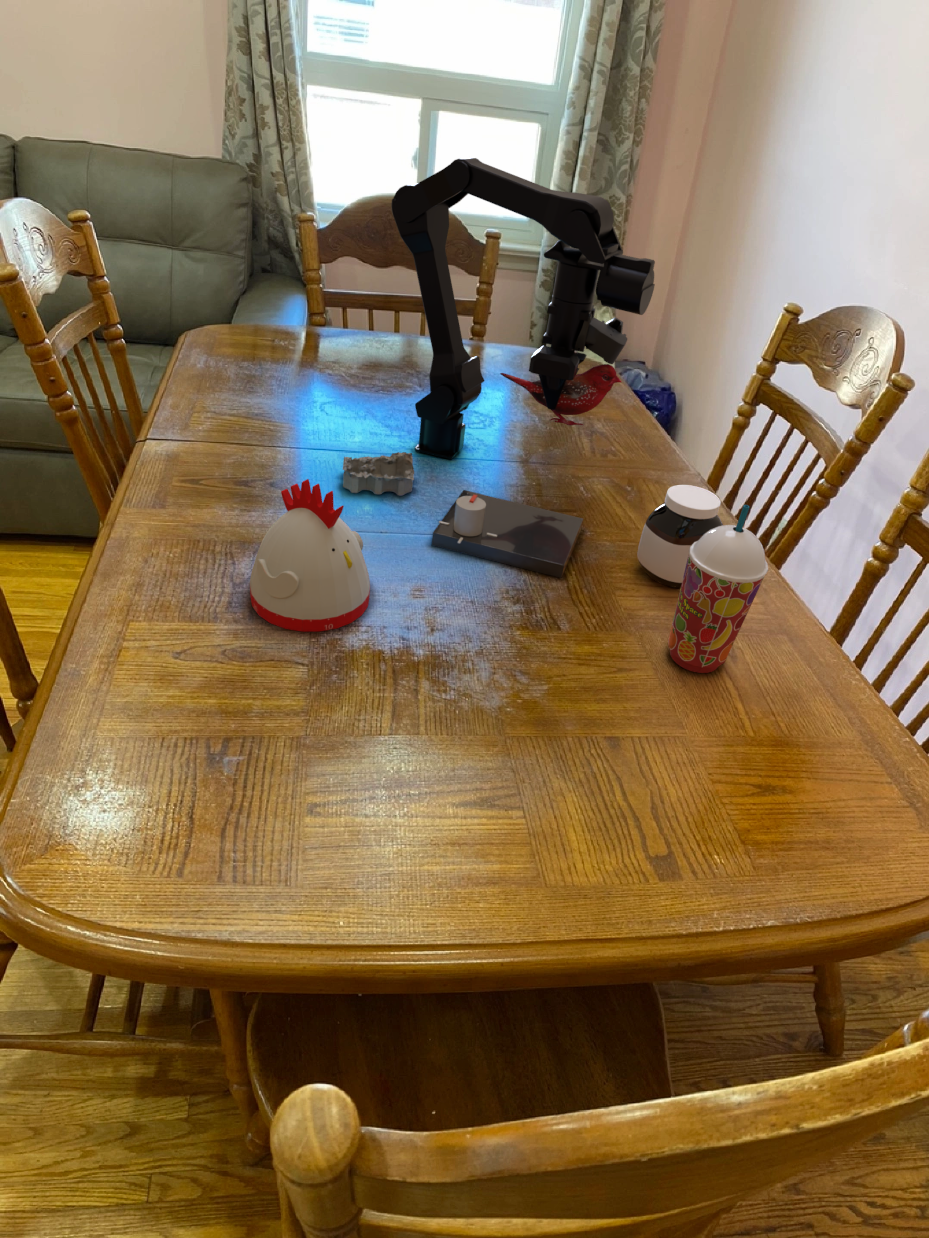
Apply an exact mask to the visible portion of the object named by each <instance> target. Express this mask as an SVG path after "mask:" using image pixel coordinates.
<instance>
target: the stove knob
mask: <svg viewBox="0 0 929 1238" xmlns="http://www.w3.org/2000/svg"><path fill="white" fill-rule="evenodd" d="M455 501H456V507H455V515H454V524H453V529H454V531H455V532H456V533H458V534H460V535H463V536H477V535H480V534H481V533H482V531H483V524H484V517H485V510H486V503H485V501H484V500H482V499H480V498H478V497H477V495H473V496H463V497H460V498H458V497H457V498H456V500H455Z"/></svg>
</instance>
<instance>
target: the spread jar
mask: <svg viewBox="0 0 929 1238" xmlns="http://www.w3.org/2000/svg"><path fill="white" fill-rule="evenodd" d="M721 505H722V502H721V499H720V498H719V497H718V495H716V494H715V493H714V492H712V491H710V490H708V489H706V488H703V487H700V486H696V485H691V484H676V485H672V486H670V487H669V488H668V489H667V491H666V494H665V498H664V502H662V503H661V504H659V505H658V506H657V507H656V508H655V509H654V510H653V511H652V512H651V513H650V514H649V515H648V517H647V518H646V520H645V522H644V525H643V528H642V532H641V535H640V539H639V542H638V547H637V552H636V553H637V554H636V555H637V557H636V558H637V561H638V563H639V566H640V567H641V568H642V570H643V571H644V572H645V574H647V575H648V576H649V578H651V580H653V581H655V582H656V583H658V584H661V585H663V586H666V587H671V588H678V589H681V585H682V580H683V576H684V572H685V568H686V563H687V559H688V555H689V549H690V547H691V545H692V544H693V543H694V542H696V541H698V540H699V539H700V538H701V537H702V536H703V535H704V534H705V533H706V532H708V531H709V530H711V529H713V528H716V527H718V526H723V525H724V524H723V522H722V520H721V518H720V517H719V515H718V514H719V510H720V507H721Z"/></svg>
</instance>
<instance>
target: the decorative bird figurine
mask: <svg viewBox="0 0 929 1238" xmlns="http://www.w3.org/2000/svg"><path fill="white" fill-rule="evenodd" d="M499 374H500V375H501V376H502V377H503V378H506V379H507V380H509V381H511V382H513V383H515V384H516V385H518V386H520V387H522V388H524V389H525V390H526V391H527V392H528V393H529V394H530V395H531V397H533V399H534V400H535V402H537V403H538V404H540V405H542V406H543V407H545V408H547V404H546V400H545V396H544V392H543V388H542V385H541V381H540V379H538V380H534V381H531V380H527V379H524V378H520V377H518V376H515V375H511V374H508V373H505V372H500V373H499ZM617 383H622V380H621V379H620V377H618V375H617V371H616V369H615V367H614V366H613V365H612V364H609V363H604V364H599V365H595V366H592V367H591V368H589V369H587V370H586V371H584V372H581V373H577V374H576V375H575V377H574V379H573V380H566V382H565V385H564V388H563V390H562V393H561V396H560V398H559V401H558V403H557V406H556V409H555V410H550V411H551V412H552V413H553V414H554V415H555V416H556V417H552V418H550V419H549V421H554V423H557V424H564V425H566V426H584V424H583V423H580V422H575V421H573V420H569V419H567V418H565V417H564V416H577V415H578V416H579V415H581V414H582V415H583V414H585V413H587V412H590V411H592V410H593V409H595V408H596V407H598V406H599V405H600V403H602V401H603V400H604V398H605V397H606V396H607V394H608V393H609V392H610V391H611V390H612V388H613V386H614V385H615V384H617Z"/></svg>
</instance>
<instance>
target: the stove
mask: <svg viewBox="0 0 929 1238" xmlns="http://www.w3.org/2000/svg"><path fill="white" fill-rule="evenodd" d="M473 495H477V497H478V498H480V499H482V500H484V501H485V503H486V510H485V517H484V524H483V531H482V533H481V534H480V535H477V536H463V535H460V534H458V533H456V532H455V531H454V529H453V524H454V515H455V507H456V500H455V501H454V503H452V505H451V507H450V508H449V509H448V511H447V512H446V514H444V517H442V519H441V520H439V521H438V525H437V526H436V527H435V528H434V530H433V532H432V538H431V546H432V547H433V546H434V547H437V548H441V549H446V550H449V551H452V552H456V553H461V554H464V555H469V556H472V557H476V558H481V559H484V560H488V561H492V562H497V563H499V564H504V565H508V566H512V567H516V568H520V569H524V570H528V571H530V572H531V571H532V572H535V573H540V574H544V575H546V576H551V577H556V578H560V579H562V578H563V576H564V573H565V571H566V568H567V566H568V563H569V561H570V559H571V556H572V553H573V551H574V549H575V546H576V544H577V541H578V538H579V535H580V534H581V531H582V526H583V523H584V518H583V517H578V516H574V515H571V514H566V513H562V512H557V511H553V510H550V509H545V508H540V507H538V506H532V505H528V504H524V503H520V502H516V501H512V500H507V499H504V498H499V497H495V496H490V495H487V494H482V493H478V492H474V491H471V490H466V489H463V491H462V492H461V493H460V494H459V496H458V497H457V499H458V498H460V497H463V496H473Z"/></svg>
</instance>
